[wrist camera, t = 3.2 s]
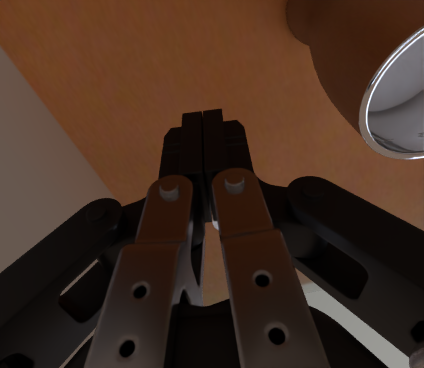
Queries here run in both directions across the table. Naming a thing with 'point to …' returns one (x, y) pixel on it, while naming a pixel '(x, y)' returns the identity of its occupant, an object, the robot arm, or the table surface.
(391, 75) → the beer glass
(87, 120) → the table surface
